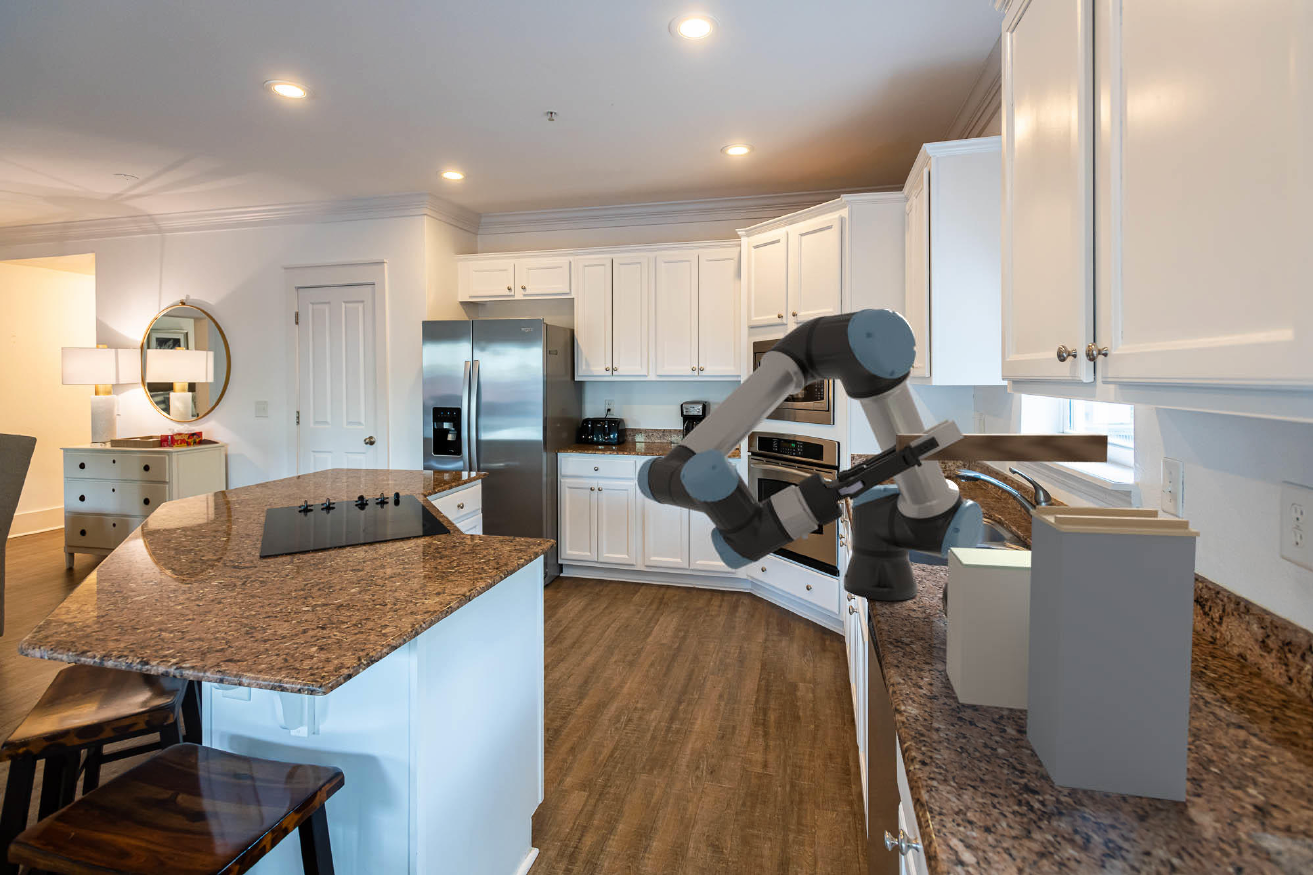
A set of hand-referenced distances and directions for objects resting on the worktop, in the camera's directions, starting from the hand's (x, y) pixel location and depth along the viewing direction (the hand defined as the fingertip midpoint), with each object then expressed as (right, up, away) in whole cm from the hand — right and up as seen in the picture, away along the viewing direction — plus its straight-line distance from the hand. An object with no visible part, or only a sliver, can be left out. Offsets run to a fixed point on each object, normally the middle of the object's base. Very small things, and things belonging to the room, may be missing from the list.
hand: (954, 428), depth 90 cm
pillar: (+8, -39, -18) cm, 44 cm away
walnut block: (+5, -4, -1) cm, 7 cm away
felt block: (+11, -38, 0) cm, 39 cm away
